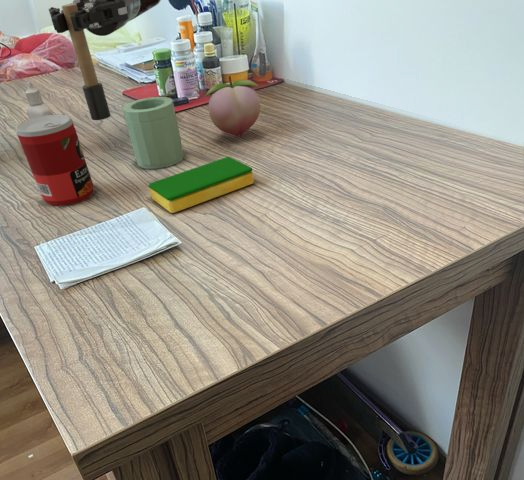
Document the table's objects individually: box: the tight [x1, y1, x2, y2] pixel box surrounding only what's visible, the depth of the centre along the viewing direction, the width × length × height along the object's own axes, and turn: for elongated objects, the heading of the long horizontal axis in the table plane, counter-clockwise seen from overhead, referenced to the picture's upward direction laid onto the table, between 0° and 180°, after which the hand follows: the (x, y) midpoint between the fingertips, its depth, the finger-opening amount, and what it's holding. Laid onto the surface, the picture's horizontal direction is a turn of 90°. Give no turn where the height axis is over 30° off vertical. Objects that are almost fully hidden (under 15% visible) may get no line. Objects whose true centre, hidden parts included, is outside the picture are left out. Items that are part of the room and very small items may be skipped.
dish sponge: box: [148, 156, 254, 214], centre depth 75 cm, size 7×14×2 cm, turn 124°
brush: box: [61, 3, 111, 121], centre depth 82 cm, size 3×3×16 cm
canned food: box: [15, 114, 95, 207], centre depth 76 cm, size 8×8×11 cm
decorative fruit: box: [204, 75, 261, 137], centre depth 90 cm, size 9×8×10 cm
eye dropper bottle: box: [24, 81, 54, 120], centre depth 93 cm, size 4×6×12 cm
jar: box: [122, 96, 185, 170], centre depth 85 cm, size 8×8×9 cm
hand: (65, 24), depth 76 cm, fingers closed on brush, 2 cm apart
